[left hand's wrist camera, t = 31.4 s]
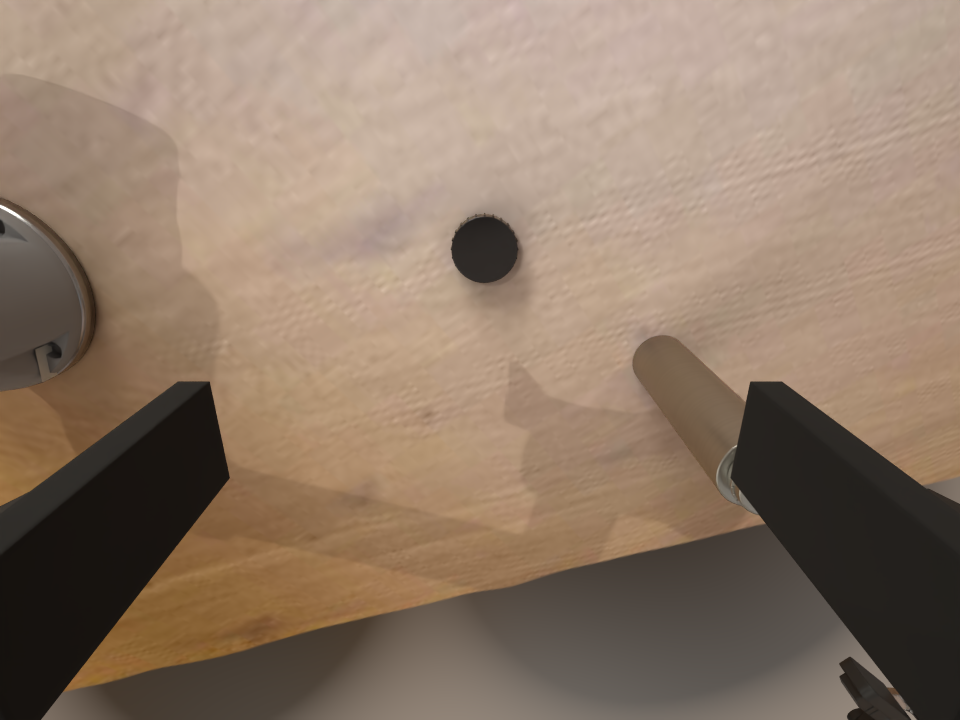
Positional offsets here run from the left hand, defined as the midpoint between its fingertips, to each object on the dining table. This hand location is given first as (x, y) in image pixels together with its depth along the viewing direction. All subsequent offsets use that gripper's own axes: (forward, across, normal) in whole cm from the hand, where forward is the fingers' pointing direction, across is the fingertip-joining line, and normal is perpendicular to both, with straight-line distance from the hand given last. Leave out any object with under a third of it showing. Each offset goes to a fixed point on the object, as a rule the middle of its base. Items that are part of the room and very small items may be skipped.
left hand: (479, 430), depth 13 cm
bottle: (+29, +15, -9) cm, 34 cm away
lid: (+27, 0, 0) cm, 27 cm away
